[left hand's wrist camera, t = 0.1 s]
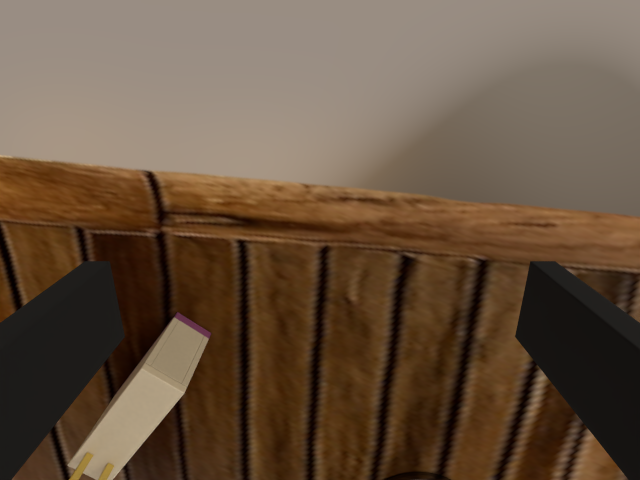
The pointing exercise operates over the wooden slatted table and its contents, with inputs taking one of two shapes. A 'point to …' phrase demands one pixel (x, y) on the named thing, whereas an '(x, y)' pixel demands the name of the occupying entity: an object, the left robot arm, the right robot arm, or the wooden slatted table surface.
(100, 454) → the lid
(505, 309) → the wooden slatted table surface
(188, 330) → the purple-based tan box
